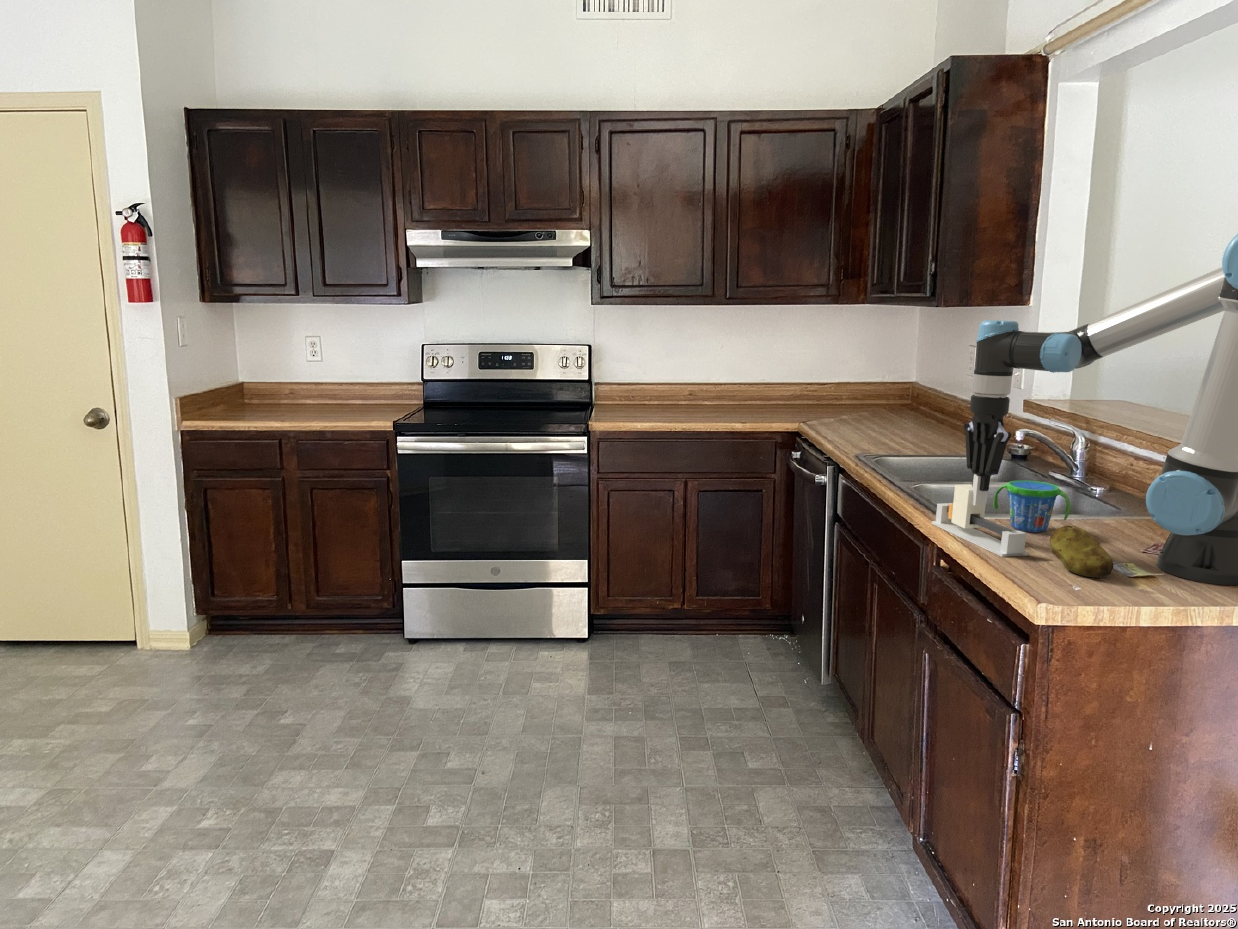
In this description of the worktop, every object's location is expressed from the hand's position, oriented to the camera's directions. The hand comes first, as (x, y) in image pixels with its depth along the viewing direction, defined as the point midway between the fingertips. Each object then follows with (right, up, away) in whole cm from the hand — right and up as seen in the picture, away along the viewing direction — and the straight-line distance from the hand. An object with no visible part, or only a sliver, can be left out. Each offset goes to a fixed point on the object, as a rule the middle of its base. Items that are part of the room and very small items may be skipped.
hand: (978, 504), depth 184 cm
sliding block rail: (0, -7, +1) cm, 8 cm away
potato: (+11, -12, -19) cm, 25 cm away
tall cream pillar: (-1, -5, +4) cm, 6 cm away
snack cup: (+15, -6, +10) cm, 19 cm away
